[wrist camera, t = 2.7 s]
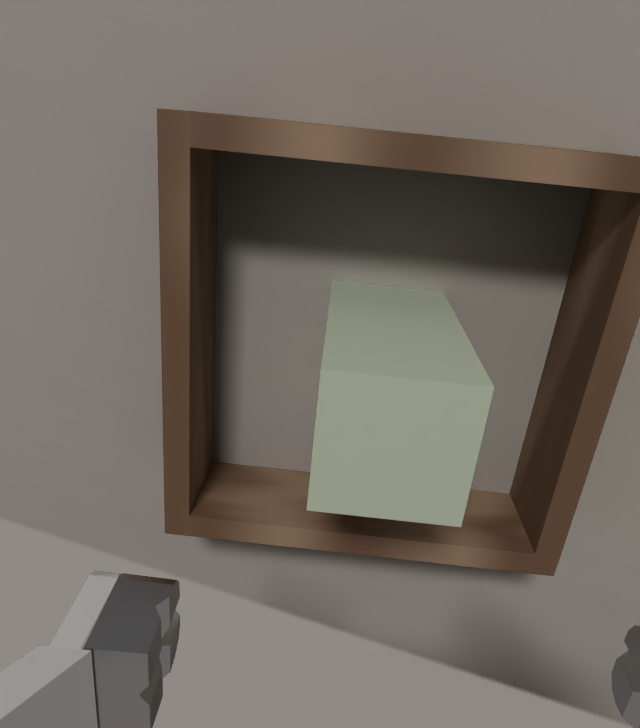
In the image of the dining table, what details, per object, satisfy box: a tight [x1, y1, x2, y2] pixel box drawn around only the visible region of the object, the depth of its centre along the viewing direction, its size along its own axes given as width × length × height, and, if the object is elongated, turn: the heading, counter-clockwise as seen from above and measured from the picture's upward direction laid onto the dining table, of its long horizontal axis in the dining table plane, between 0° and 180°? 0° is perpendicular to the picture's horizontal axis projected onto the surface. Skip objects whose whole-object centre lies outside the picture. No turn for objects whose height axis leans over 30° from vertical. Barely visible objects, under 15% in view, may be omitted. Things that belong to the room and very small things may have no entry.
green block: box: [307, 280, 494, 527], centre depth 20 cm, size 4×4×9 cm
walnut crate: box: [157, 109, 640, 576], centre depth 22 cm, size 16×16×4 cm
